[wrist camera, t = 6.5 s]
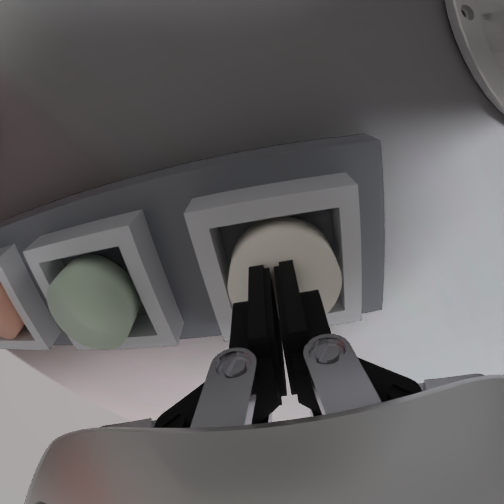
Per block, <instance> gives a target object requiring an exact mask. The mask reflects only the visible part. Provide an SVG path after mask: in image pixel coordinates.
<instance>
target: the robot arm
mask: <svg viewBox="0 0 504 504" xmlns="http://www.w3.org/2000/svg"><path fill="white" fill-rule="evenodd" d="M445 4H446V9H447V14H448V18H449V21H450V24H451V27H452V30H453V34H454V37H455V40H456V42H457V44H458V46H459V49H460V51H461V53H462V56H463V58H464V60H465V62H466V64H467V66H468V67H469V69H470V71H471V73H472V75H473V77H474V79H475V80H476V82H477V83H478V84H479V86H480V87H481V89H482V90H483V92H484V93H485V95H486V96H487V97H488V98H489V99H490V101H491V102H492V103H493V104H494V105H495V106H496V108H497V109H498V110H499V111H501V112H502V113H503V114H504V0H445ZM274 276H275V285H276V295H277V304H278V311H277V306H276V301H275V295H274V290H273V285H272V279H271V274H270V269H269V267H268V268H264V266H263V265H257V266H251V267H249V274H248V301H244V302H237V303H233V308H232V320H231V332H230V344H229V349H227V350H224V351H222V352H221V353H219V354H218V355H217V356H216V357H215V358H214V359H213V361H212V363H211V365H210V368H209V371H208V374H207V377H206V380H205V382H204V383H203V384H202V385H200V386H199V387H198V388H196V389H195V390H194V391H192V392H191V393H190V394H188V395H187V396H186V397H184V398H183V399H182V400H180V401H179V402H178V403H176V404H175V405H174V406H172V407H171V408H170V409H168V410H167V411H166V412H164V413H163V414H162V415H161V416H160V417H159V418H158V419H157V420H155V421H153V420H152V419H151V418H149V419H143V420H138V421H132V422H126V423H120V424H113V425H106V426H102V427H99V428H90V429H82V430H78V431H75V432H70V433H68V434H65V435H62V436H60V437H58V438H57V439H55V440H54V441H53V442H52V443H51V444H50V445H49V446H48V448H47V449H46V451H45V452H44V454H43V456H42V458H41V460H40V462H39V464H38V467H37V469H36V471H35V473H34V476H33V479H32V482H31V484H30V487H29V490H28V493H27V496H26V499H25V503H24V504H504V375H486V376H485V375H482V374H469V375H462V376H455V377H447V378H438V379H428V380H424V383H419V384H417V383H416V382H415V381H413V380H411V379H409V378H407V377H404V376H402V375H399V374H397V373H394V372H392V371H389V370H387V369H384V368H382V367H379V366H377V365H375V364H372V363H370V362H367V361H365V360H362V359H360V358H358V357H357V356H356V354H355V352H354V351H353V349H352V347H351V345H350V343H349V342H348V341H347V340H346V339H345V338H343V337H342V336H339V335H336V334H331V331H330V328H329V324H328V321H327V317H326V314H325V310H324V307H323V303H322V300H321V297H320V293H319V290H312V291H306V292H299V287H298V283H297V278H296V273H295V269H294V264H293V260H287V261H281V262H279V266H274ZM278 314H279V317H278ZM282 345H283V348H282ZM283 350H284V356H285V361H286V366H287V372H288V377H289V383H290V388H291V394H292V395H294V394H297V395H298V401H299V403H301V404H302V405H304V406H306V407H308V408H310V414H311V417H307V418H300V419H293V420H286V421H278V422H272V412H273V411H274V410H275V409H276V408H277V407H278V406H279V405H282V400H281V396H287V390H286V379H285V369H284V359H283Z"/></svg>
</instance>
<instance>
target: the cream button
mask: <svg viewBox="0 0 504 504" xmlns="http://www.w3.org/2000/svg"><path fill="white" fill-rule="evenodd" d="M287 260H293V264H294V269H295V273H296V278H297V283H298V287H299V292H306V291H312V290H319V293H320V297H321V300H322V303H323V307H324V310H325V314H327V313H328V312H329V311H330V310H331V309H332V307H333V306H334V304H335V303H336V301H337V299H338V297H339V294H340V291H341V286H342V277H341V271H340V268H339V265H338V263H337V260H336V258H335V255H334V253H333V251H332V248H331V246H330V244H329V242H328V240H327V238H326V237H325V235H324V234H323V233H322V232H321V231H320V230H319V229H318V228H317V227H315V226H314V225H312V224H311V223H309V222H307V221H304V220H302V219H298V218H294V217H275V218H269V219H266V220H263V221H260V222H258V223H256V224H254V225H253V226H251V227H250V228H249V229H247V230H246V231H245V232H244V233H243V234H242V235H241V237H240V238H239V239H238V241H237V242H236V244H235V246H234V249H233V252H232V256H231V263H230V270H229V277H228V294H229V298H230V301H231V303H232V305H233V303H237V302H244V301H248V274H249V267H251V266H257V265H263V266H264V268H268V267H269V269H270V274H271V279H272V285H273V290H274V295H275V301H276V306H277V311H278V304H277V295H276V285H275V276H274V266H279V262H281V261H287ZM278 317H279V314H278Z"/></svg>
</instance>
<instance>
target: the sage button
mask: <svg viewBox="0 0 504 504" xmlns="http://www.w3.org/2000/svg"><path fill="white" fill-rule="evenodd" d="M47 303H48V307H49V310H50V313H51V315H52V317H53V318H54V320H55V322H56V323H57V324H58V326H59V327H60V328H61V329H62V330H63V331H64V332H65V333H66V334H67V335H68V336H70V337H71V338H72V339H74V340H75V341H77V342H79V343H81V344H83V345H85V346H87V347H90V348H94V349H99V350H110V349H114V348H117V347H119V346H121V345H122V344H123V343H124V342H125V341H126V339H127V337H128V335H129V332H130V330H131V328H132V326H133V323H134V321H135V319H136V317H137V314H138V312H139V309H140V296H139V294H138V292H137V289H136V287H135V285H134V283H133V280H132V278H131V277H130V276H129V275H128V273H127V272H126V271H125V270H124V269H123V268H121V267H120V266H119V265H118V264H116V263H115V262H113V261H111V260H109V259H107V258H105V257H102V256H99V255H94V254H84V255H80V256H77V257H75V258H73V259H72V260H71V261H70V262H69V263H68V264H67V265H66V266H65V268H64V269H63V270H62V271H61V272H60V273H59V274H58V276H57V277H56V278H55V279H54V280H53V281H52V283H51V284H50V286H49V288H48V291H47Z"/></svg>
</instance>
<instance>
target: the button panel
mask: <svg viewBox="0 0 504 504" xmlns="http://www.w3.org/2000/svg"><path fill="white" fill-rule="evenodd" d="M275 217H294V218H298V219H302V220H304V221H307V222H309V223H311V224H312V225H314V226H315V227H317V228H318V229H319V230H320V231H321V232H322V233H323V234H324V235H325V237H326V238H327V240H328V242H329V244H330V246H331V248H332V251H333V253H334V255H335V258H336V260H337V263H338V265H339V268H340V271H341V277H342V286H341V291H340V294H339V297H338V299H337V301H336V303H335V304H334V306H333V307H332V309H331V310H330V311H329V312H328V313H327V314H326V317H327V321H328V324H329V326H333V325H339V324H344V323H350V322H355V321H360V320H361V314H362V313H367V312H372V311H377V310H382V301H383V282H384V243H385V227H384V188H383V170H382V155H381V143H380V140H378V139H375V138H373V137H371V136H369V135H366V134H361V135H352V136H342V137H334V138H326V139H318V140H311V141H303V142H297V143H290V144H284V145H277V146H271V147H265V148H260V149H254V150H249V151H243V152H238V153H233V154H228V155H223V156H218V157H213V158H209V159H204V160H199V161H195V162H190V163H186V164H182V165H178V166H174V167H169V168H165V169H161V170H157V171H154V172H150V173H146V174H142V175H138V176H135V177H131V178H128V179H124V180H120V181H117V182H114V183H110V184H107V185H103V186H100V187H97V188H94V189H90V190H87V191H84V192H81V193H78V194H75V195H72V196H69V197H66V198H63V199H60V200H57V201H54V202H51V203H48V204H46V205H43V206H40V207H37V208H35V209H32V210H29V211H26V212H24V213H21V214H19V215H16V216H14V217H11V218H8V219H6V220H3V221H1V222H0V282H1V284H2V285H3V287H4V289H5V291H6V293H7V295H8V297H9V298H10V300H11V302H12V304H13V305H14V307H15V309H16V311H17V312H18V314H19V316H20V317H21V319H22V321H23V322H24V324H25V325H24V326H23V328H22V329H21V330H20V332H19V333H18V334H17V336H16V337H15V338H13V339H5V338H2V337H0V349H19V350H50V349H51V347H52V346H53V345H74V347H75V348H76V350H99V349H94V348H90V347H87V346H85V345H83V344H81V343H79V342H77V341H75V340H74V339H72V338H71V337H70V336H68V335H67V334H66V333H65V332H64V331H63V330H62V329H61V328H60V327H59V326H58V324H57V323H56V322H55V320H54V318H53V317H52V315H51V313H50V310H49V307H48V303H47V291H48V288H49V286H50V284H51V283H52V281H53V280H54V279H55V278H56V277H57V276H58V274H59V273H60V272H61V271H62V270H63V269H64V268H65V266H66V265H67V264H68V263H69V262H70V261H71V260H72V259H73V258H75V257H77V256H80V255H84V254H94V255H99V256H102V257H105V258H107V259H109V260H111V261H113V262H115V263H116V264H118V265H119V266H120V267H121V268H123V269H124V270H125V271H126V272H127V273H128V275H129V276H130V277H131V278H132V280H133V283H134V285H135V287H136V289H137V292H138V294H139V296H140V309H139V312H138V314H137V317H136V319H135V321H134V323H133V326H132V328H131V330H130V332H129V335H128V337H127V339H126V341H125V342H124V343H123V344H122V345H121V346H119V347H117V348H114V349H132V348H150V347H165V346H178V343H179V339H187V338H198V337H208V336H217V335H222V336H223V339H224V341H230V332H231V320H232V308H233V305H232V303H231V301H230V298H229V294H228V277H229V270H230V263H231V256H232V252H233V249H234V246H235V244H236V242H237V241H238V239H239V238H240V237H241V235H242V234H243V233H244V232H245V231H246V230H247V229H249V228H250V227H251V226H253V225H254V224H256V223H258V222H260V221H263V220H266V219H269V218H275Z"/></svg>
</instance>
